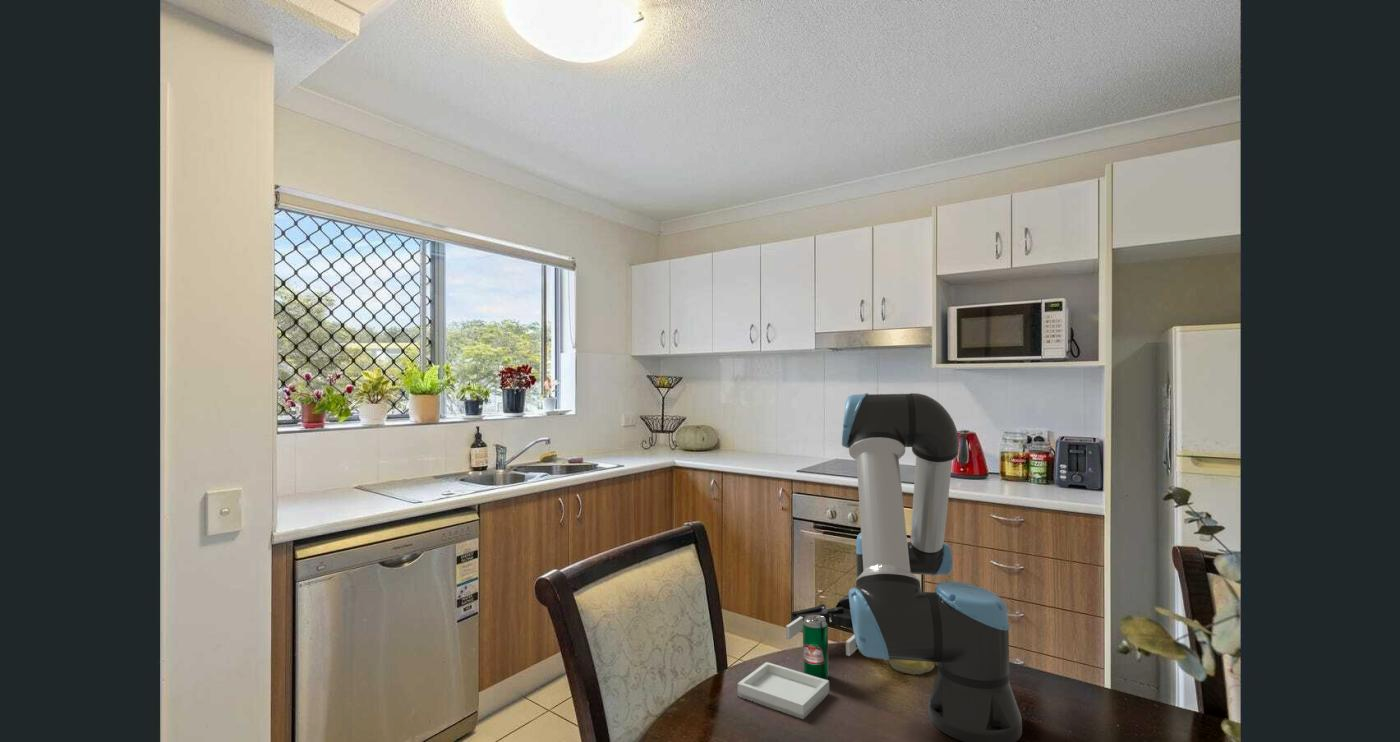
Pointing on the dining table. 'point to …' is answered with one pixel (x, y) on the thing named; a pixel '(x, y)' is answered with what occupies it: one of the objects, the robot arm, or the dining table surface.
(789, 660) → the dining table surface
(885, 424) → the robot arm
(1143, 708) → the dining table surface
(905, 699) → the dining table surface
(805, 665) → the soda can
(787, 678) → the tray
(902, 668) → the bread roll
